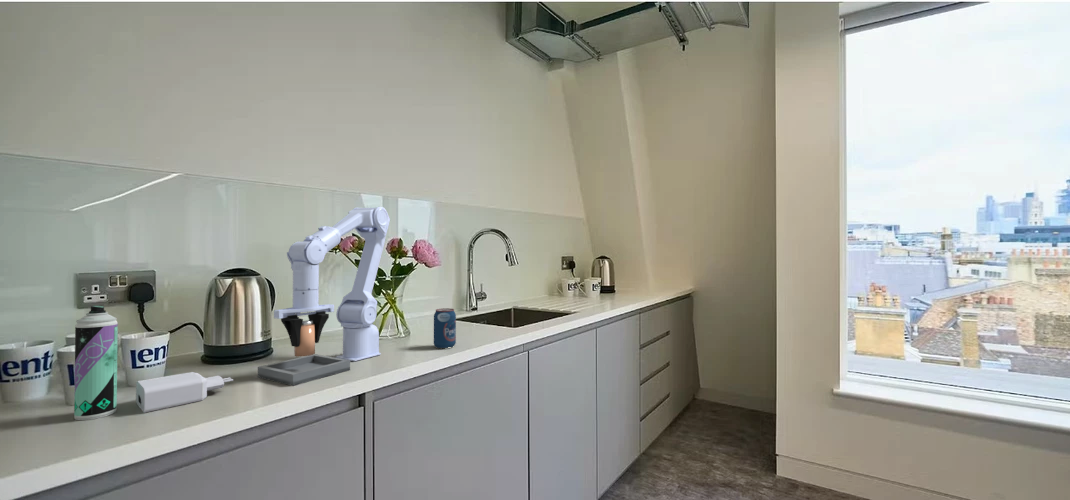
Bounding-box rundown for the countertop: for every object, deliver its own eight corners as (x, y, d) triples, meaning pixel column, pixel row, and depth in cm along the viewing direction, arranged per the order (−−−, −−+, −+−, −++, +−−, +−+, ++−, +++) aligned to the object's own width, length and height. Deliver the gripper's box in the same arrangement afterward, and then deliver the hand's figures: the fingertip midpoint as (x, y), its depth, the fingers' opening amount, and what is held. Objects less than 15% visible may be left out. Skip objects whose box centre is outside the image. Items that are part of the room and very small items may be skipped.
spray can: (75, 414, 79) (76, 305, 80) (116, 407, 83) (117, 303, 83) (73, 422, 75) (74, 308, 76) (116, 414, 79) (118, 306, 79)
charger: (238, 394, 91) (144, 414, 80) (225, 386, 97) (135, 403, 86) (238, 372, 91) (144, 389, 80) (225, 365, 97) (135, 379, 86)
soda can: (449, 350, 133) (449, 311, 133) (429, 348, 135) (429, 310, 135) (459, 345, 140) (459, 308, 140) (440, 344, 142) (440, 307, 142)
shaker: (308, 352, 110) (307, 319, 110) (318, 353, 108) (318, 320, 108) (290, 355, 106) (290, 322, 106) (301, 357, 104) (300, 323, 104)
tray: (315, 363, 117) (315, 354, 117) (350, 370, 110) (350, 360, 110) (257, 377, 103) (257, 366, 103) (293, 385, 97) (293, 374, 97)
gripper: (322, 287, 115) (321, 337, 115) (266, 290, 102) (266, 348, 102) (339, 288, 112) (339, 340, 112) (284, 292, 99) (283, 351, 99)
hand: (305, 344), depth 107 cm, fingers closed on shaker, 4 cm apart
